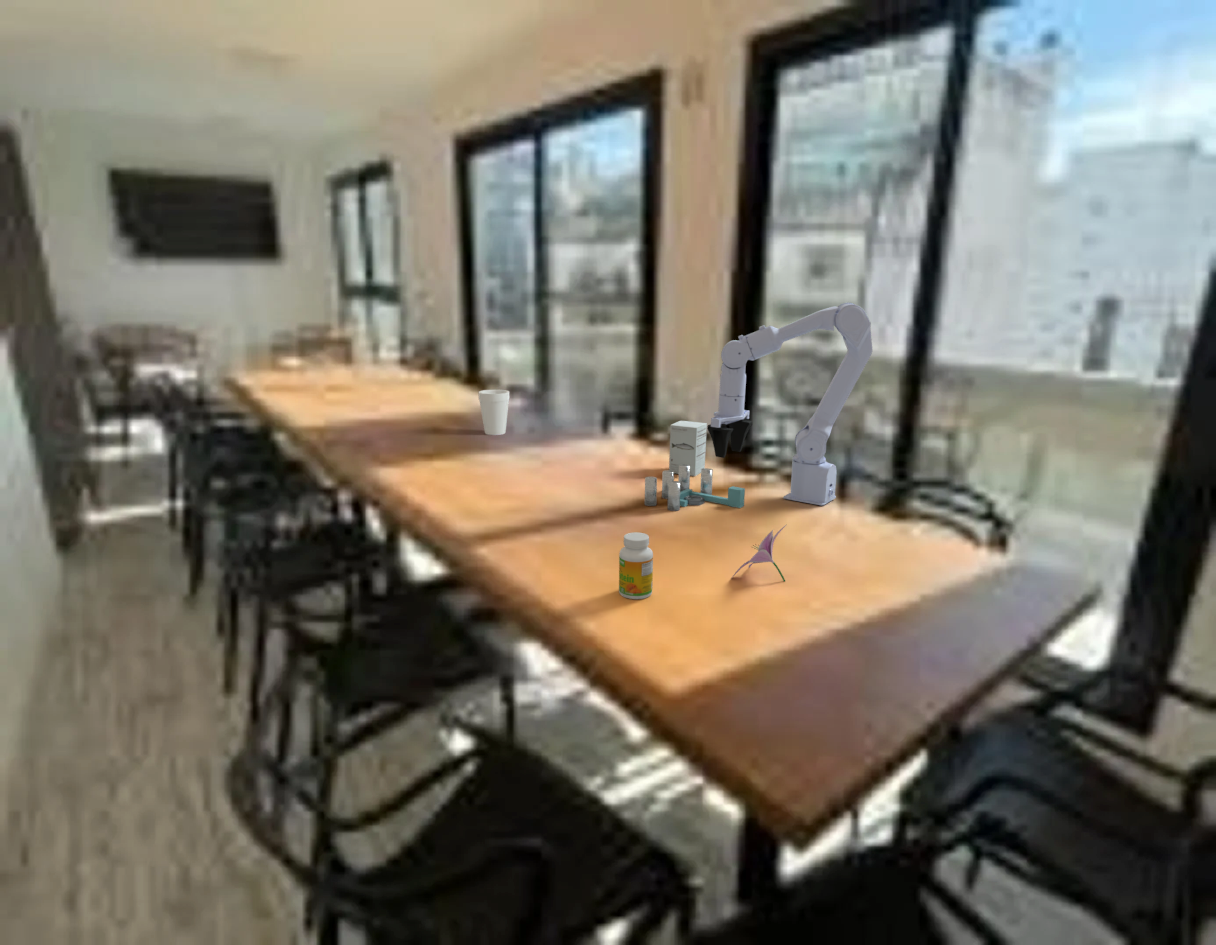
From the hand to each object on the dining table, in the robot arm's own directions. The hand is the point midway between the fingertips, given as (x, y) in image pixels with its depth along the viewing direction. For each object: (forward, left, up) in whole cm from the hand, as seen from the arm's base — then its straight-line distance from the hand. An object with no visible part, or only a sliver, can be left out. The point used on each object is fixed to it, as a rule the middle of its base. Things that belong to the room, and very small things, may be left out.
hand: (728, 454), depth 183 cm
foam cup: (+91, -17, -10) cm, 93 cm away
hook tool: (-1, +10, -10) cm, 14 cm away
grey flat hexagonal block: (+2, +11, -10) cm, 15 cm away
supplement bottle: (-16, +60, -10) cm, 63 cm away
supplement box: (+18, -12, -10) cm, 24 cm away
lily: (-29, +41, -10) cm, 51 cm away
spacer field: (+6, +11, -10) cm, 16 cm away
